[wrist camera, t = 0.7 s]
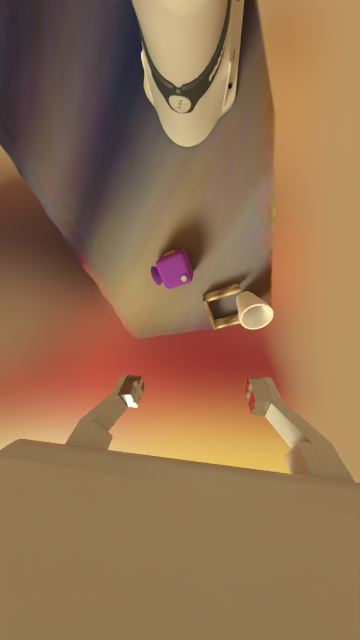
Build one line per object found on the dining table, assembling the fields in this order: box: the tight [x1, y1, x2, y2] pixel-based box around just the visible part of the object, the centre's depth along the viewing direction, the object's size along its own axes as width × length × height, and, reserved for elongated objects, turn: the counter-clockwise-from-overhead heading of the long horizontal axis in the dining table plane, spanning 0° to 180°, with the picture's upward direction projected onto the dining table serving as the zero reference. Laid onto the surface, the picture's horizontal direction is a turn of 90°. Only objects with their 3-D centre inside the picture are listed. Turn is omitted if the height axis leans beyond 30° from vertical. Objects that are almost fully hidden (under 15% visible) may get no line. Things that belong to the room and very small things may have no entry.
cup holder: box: [203, 284, 241, 330], centre depth 52 cm, size 13×14×6 cm
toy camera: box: [151, 248, 193, 289], centre depth 45 cm, size 11×14×10 cm
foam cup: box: [236, 291, 273, 329], centre depth 47 cm, size 10×9×13 cm
